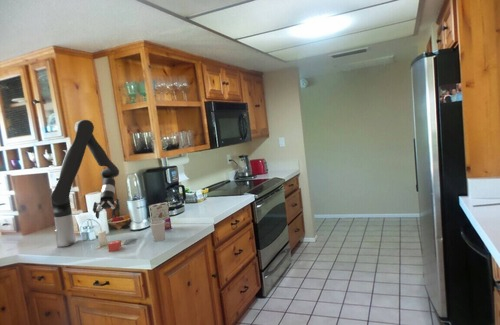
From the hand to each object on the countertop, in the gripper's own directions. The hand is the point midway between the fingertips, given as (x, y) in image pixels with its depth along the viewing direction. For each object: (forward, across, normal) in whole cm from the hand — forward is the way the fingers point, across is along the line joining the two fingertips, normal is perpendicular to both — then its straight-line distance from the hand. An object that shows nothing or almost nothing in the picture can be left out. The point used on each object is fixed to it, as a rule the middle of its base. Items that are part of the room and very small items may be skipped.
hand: (105, 216), depth 192 cm
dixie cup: (+18, +29, +3) cm, 35 cm away
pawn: (+17, 0, +2) cm, 17 cm away
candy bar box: (+3, +28, +18) cm, 34 cm away
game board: (+18, +7, +3) cm, 19 cm away
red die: (+25, +8, -4) cm, 27 cm away
